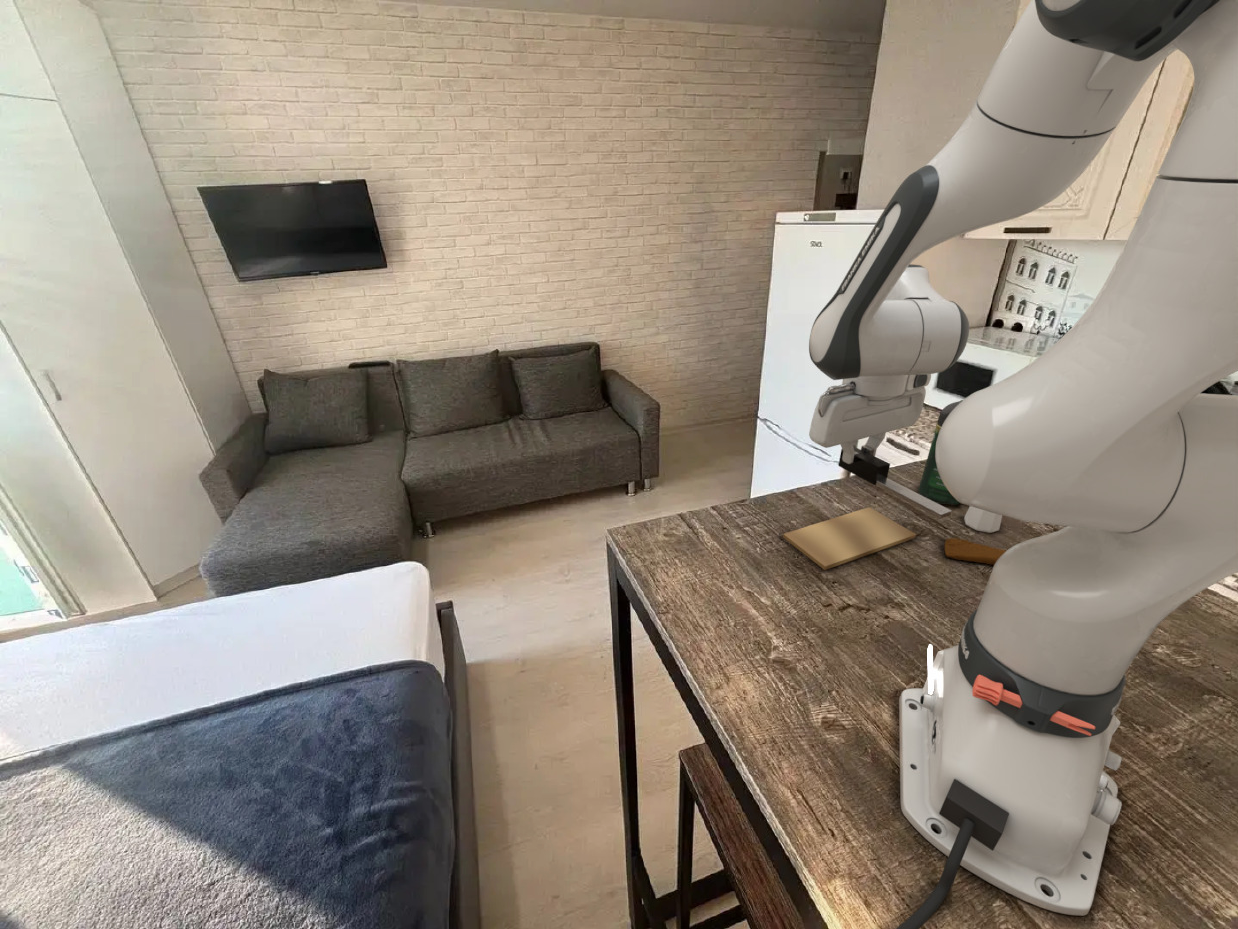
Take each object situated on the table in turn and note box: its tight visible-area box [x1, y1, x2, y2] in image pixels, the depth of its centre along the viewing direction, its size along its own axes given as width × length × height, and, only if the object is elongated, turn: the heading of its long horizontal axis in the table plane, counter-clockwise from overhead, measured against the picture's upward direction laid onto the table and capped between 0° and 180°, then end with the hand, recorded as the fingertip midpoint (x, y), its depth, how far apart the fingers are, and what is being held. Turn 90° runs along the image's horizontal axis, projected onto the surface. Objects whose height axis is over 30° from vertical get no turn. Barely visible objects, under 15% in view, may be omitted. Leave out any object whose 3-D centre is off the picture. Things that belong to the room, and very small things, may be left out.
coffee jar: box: [917, 399, 964, 506], centre depth 96 cm, size 10×8×19 cm
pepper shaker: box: [963, 506, 1003, 534], centre depth 88 cm, size 5×5×11 cm
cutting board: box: [782, 506, 917, 571], centre depth 88 cm, size 20×10×1 cm, turn 113°
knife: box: [838, 445, 952, 520], centre depth 78 cm, size 18×3×3 cm, turn 24°
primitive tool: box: [944, 537, 1008, 566], centre depth 79 cm, size 19×6×4 cm, turn 61°
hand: (858, 459), depth 83 cm, fingers closed on knife, 2 cm apart
